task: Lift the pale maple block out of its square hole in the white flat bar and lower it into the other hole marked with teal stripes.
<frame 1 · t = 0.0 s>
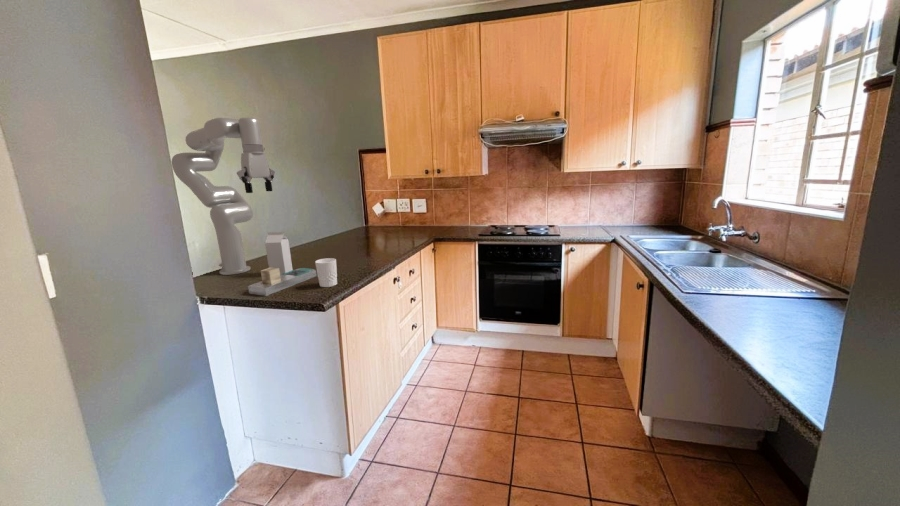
hand: (259, 192, 152), 37 cm above the worktop, tool pointing down, fingers open, 9 cm apart
white cup: (328, 285, 145), on the worktop
milk carton: (281, 273, 164), on the worktop
white flat bar: (285, 284, 147), on the worktop
maple block: (273, 289, 142), resting in white flat bar
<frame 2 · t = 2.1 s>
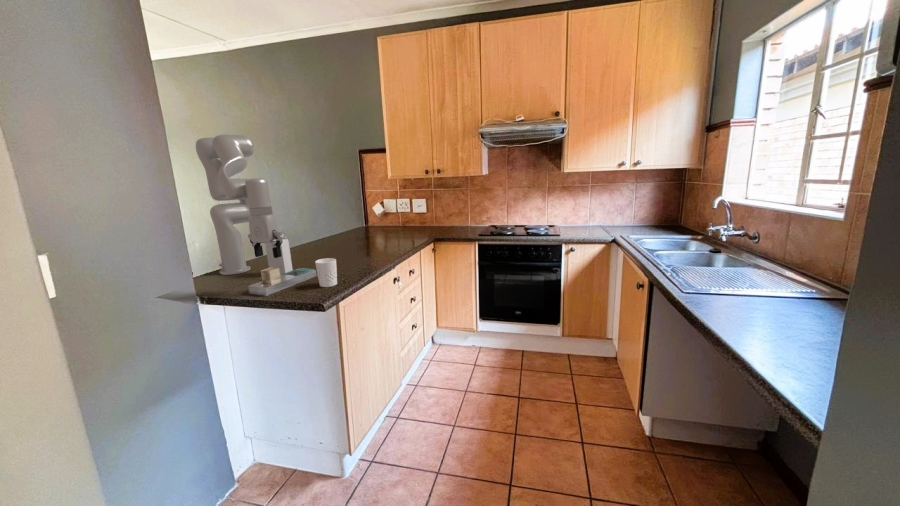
hand: (268, 256, 139), 13 cm above the worktop, tool pointing down, fingers open, 9 cm apart
nothing on the worktop moved.
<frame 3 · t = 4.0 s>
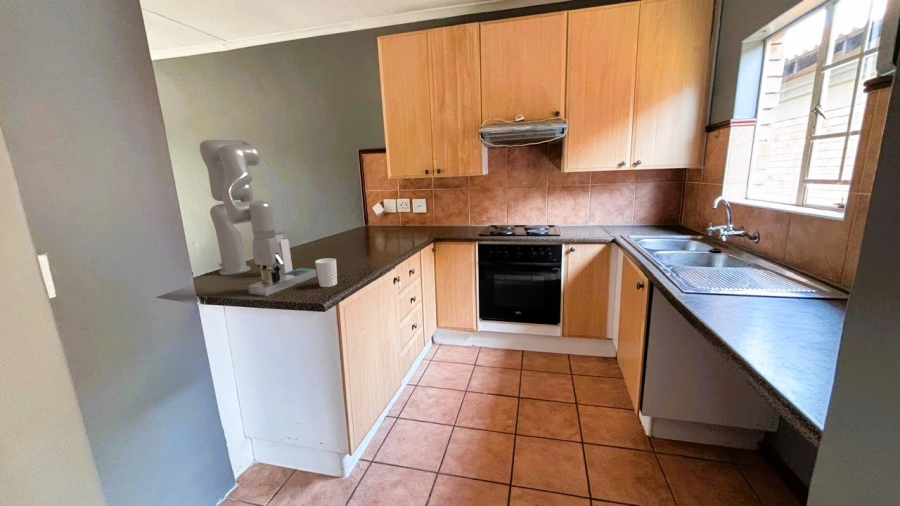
hand: (271, 280, 141), 3 cm above the worktop, tool pointing down, fingers closed on maple block, 4 cm apart
maple block: (272, 288, 142), resting in white flat bar, touching gripper
everything else where it was.
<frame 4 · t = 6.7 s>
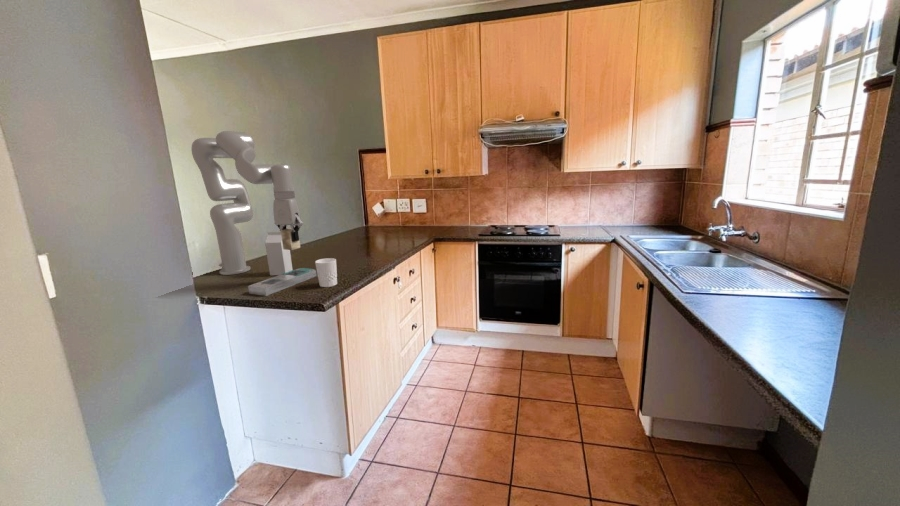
hand: (290, 240, 149), 17 cm above the worktop, tool pointing down, fingers closed on maple block, 4 cm apart
maple block: (292, 248, 150), point 14 cm above the worktop, touching gripper
everything else where it was.
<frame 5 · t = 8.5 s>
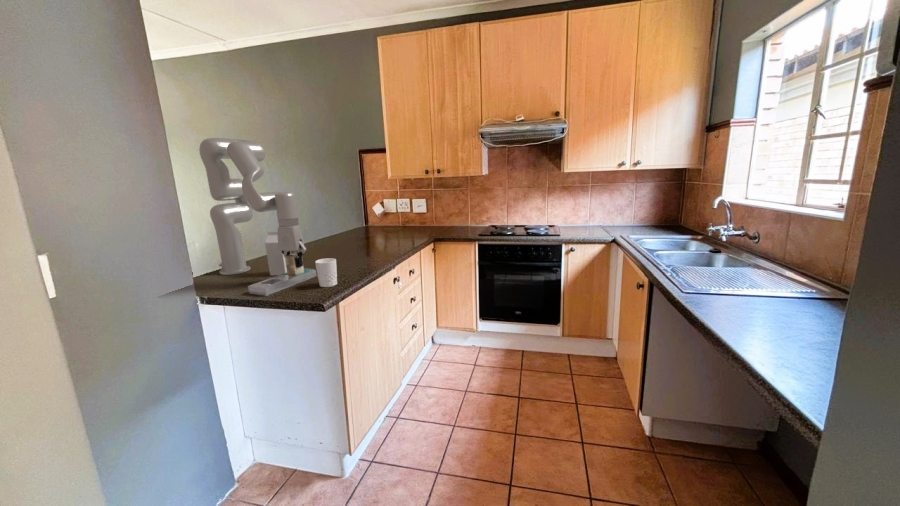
hand: (294, 265, 151), 6 cm above the worktop, tool pointing down, fingers closed on maple block, 4 cm apart
maple block: (295, 273, 152), point 3 cm above the worktop, touching gripper
everything else where it was.
when the fingers open (4 cm above the worktop, at t = 9.7 s): maple block stays where it is, resting in white flat bar.
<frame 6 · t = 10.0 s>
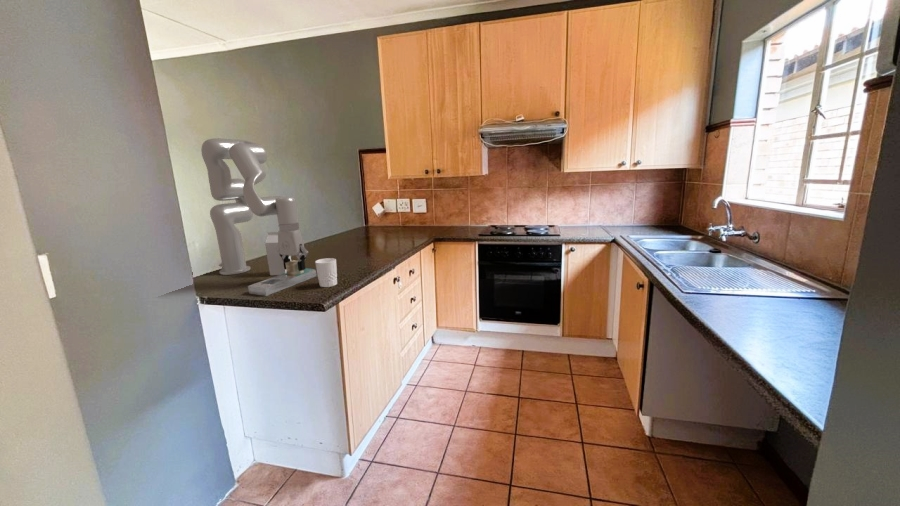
hand: (294, 269, 152), 5 cm above the worktop, tool pointing down, fingers open, 7 cm apart
maple block: (296, 280, 153), resting in white flat bar
everything else where it was.
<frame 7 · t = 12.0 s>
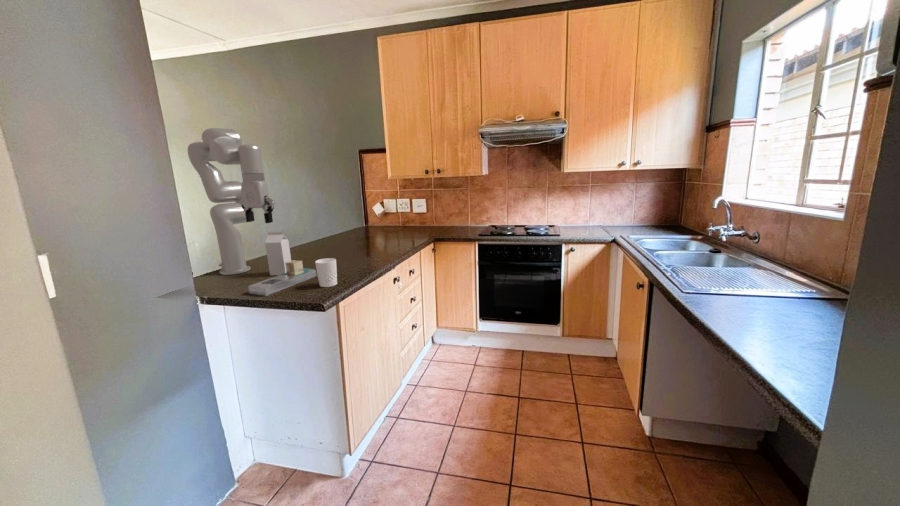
hand: (259, 222, 143), 26 cm above the worktop, tool pointing down, fingers open, 9 cm apart
nothing on the worktop moved.
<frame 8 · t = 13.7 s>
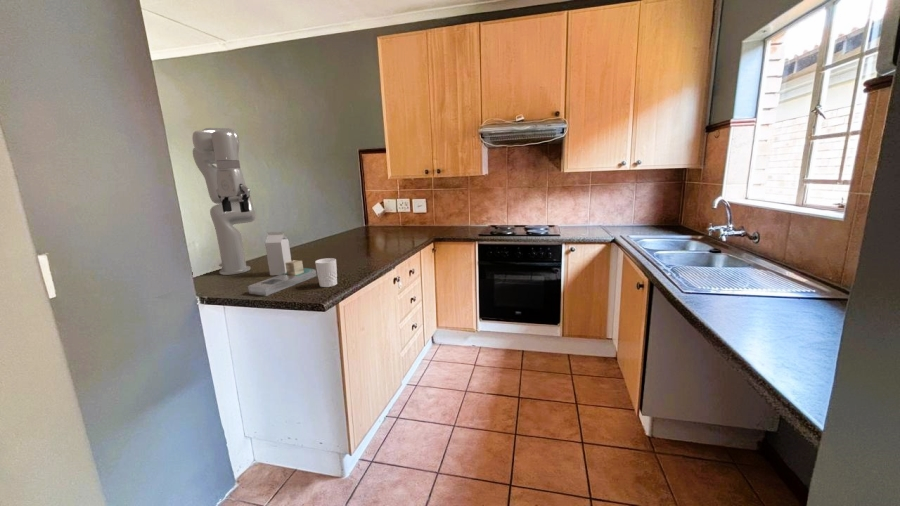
hand: (236, 211, 139), 30 cm above the worktop, tool pointing down, fingers open, 9 cm apart
nothing on the worktop moved.
at the end: maple block 0.0 cm from the target spot on the white flat bar, point 0.0 cm above the white flat bar's base; maple block tilted 0°; the gripper is holding nothing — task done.
